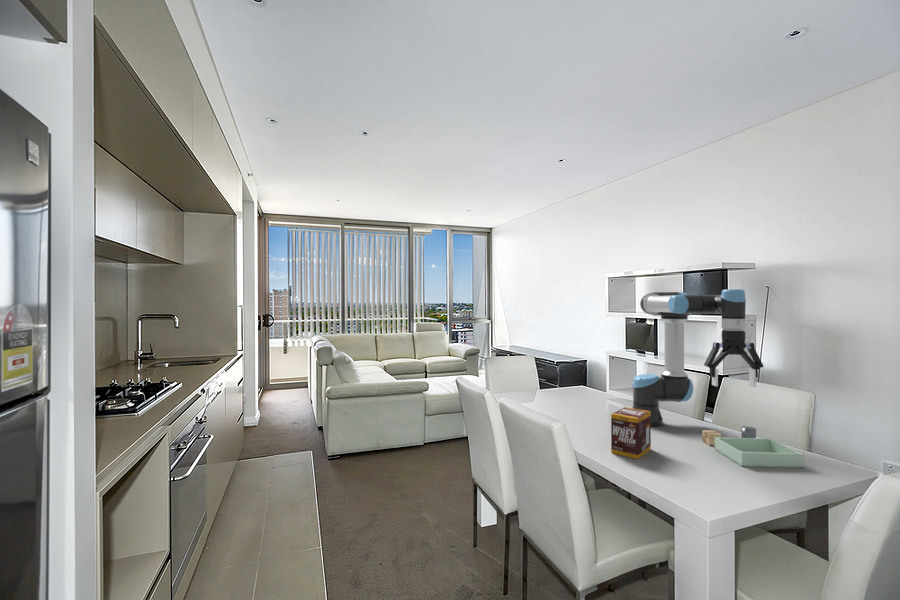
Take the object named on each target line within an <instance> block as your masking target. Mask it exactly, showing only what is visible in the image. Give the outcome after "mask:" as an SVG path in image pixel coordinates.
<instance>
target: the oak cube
mask: <svg viewBox="0 0 900 600" xmlns="http://www.w3.org/2000/svg"><path fill="white" fill-rule="evenodd" d="M701 435H702V439H701V440H702V443H703V442H704V443H703V444H705V443H706V444H705V445H706V446H708V445H713V446H712V447H715V437H720V438H722V434H721V433H720V432H718V431H716V430H704V429H703V430H702V434H701Z"/></svg>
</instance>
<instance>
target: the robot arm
mask: <svg viewBox="0 0 900 600" xmlns="http://www.w3.org/2000/svg"><path fill="white" fill-rule="evenodd" d="M746 300H747V299H746V291H745V290H744V289H740V288H738V289H733V288H732V289H731V288H730V289H727V288H726V289H722V291H721V293H720V294H688V293H687V292H681V291H680V292H679V291H675V292H674V291H667V292H666V291H665V292H664V291H663V292H662V291H659V292H658V291H656V292H649V293H647V294H645V295H644V296H642V297H641V299H640V303H639V305H640V309H641V310H642V311H643V312H644V313H645V314H647V315H651V316H660V319H661V320H662V322H663V323H664V370H663V371H662V372H661V376H660V377H659V375H658V374H654V373H644V374H638V375H635V376H634V378H633V381H632V382H633V383H632V407H631V408H634V409H639V410H645V411H650V412H651V427H659V426H662V425H664V419H663V415H662V413H661V411H660V406H659V405H660V404H659V403H660V402H671V403H672V402H676V403H681V402H688V401H689V400H690V399H691V398H692V396H693V392H694V385H693V381H692V379H691V378H689V376H688V373H687V372H685V323H686V321H688V317H689V316H691V315H692V314H714V315H717V314H719V315H721V329H722V330H721V343H720V342H717V341H716V342H715V341H713V342H712V349H711V350H710V352H709V354H708V356H707V358H706V360H705V362H704V364H703V365H704V367H707V368H709V377H711V385H712V386H714V387H719V369H718V368H717V367H718V366H719V365H720V364H721V362H723V360H724V359H726V357H727V356H729V355H731V356H732V355H737V356H738V355H740V356H741V358H742V359H743V360H744V361H745V362H746V363H747V364H748V366H750V368H749V367H748V385H749V387H753V388H756V383H757V382H756V380H757V379H756V378H758V377H759V376H758V375H759V374H758V372H759V371H758V370H760V368H761V369H763V368H764V364H763V362H762V360H761V358H760V356H759V354H758V352H757V350H756V347H755V343H754V342H747V343H746V330H745V329H746V308H747V307H746V305H747V304H746ZM721 348H722V349H721ZM745 348H746V349H747V351H748V352H749V355H748V353H747V351H746V350H745ZM720 349H721V350H720ZM719 350H720V352H719ZM718 352H719V354H718Z"/></svg>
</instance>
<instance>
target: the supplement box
mask: <svg viewBox="0 0 900 600" xmlns="http://www.w3.org/2000/svg"><path fill="white" fill-rule="evenodd" d="M610 416H611V417H610V423H611V424H610V425H611V427H610V428H611V429H610V432H611V434H610V435H611V438H610V439H611V441H610V442H611V443H610V444H611V448H610V449H611V453H612V454H614V455H615V454H616V455H619V456H623V457H626V458H631V459H636V460H639V459H640V458H641V457H643V456H644V455H646V454H647V453H648V452H649V451H651V449H652V446H651V445H652V444H651V443H652V442H651V440H652V439H651V438H652V437H651V436H652V435H651V429H652V426H651V412H650V411H645V410H639V409H634V408H632V407H622V408H621V409H619V410H617V411H615V412H613V413H611V415H610Z"/></svg>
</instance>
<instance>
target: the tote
mask: <svg viewBox="0 0 900 600" xmlns="http://www.w3.org/2000/svg"><path fill="white" fill-rule="evenodd" d="M714 451H716V452H718V453H720V454H721V455H723V456H724V457H726V458H728V459H729V460H730V461H732V462H734V464H735V463H736V464H737V465H738V466H739V467H743V468H745V467H746V468H751V467H752V468H781V469H783V468H784V469H785V468H787V469H804V467H805V466H804V465H805V463H804V462H805V461H804V460H805V459H804V458H805V457H804V456H805V454H804V453H802V452H800V451H797V450H795V449H793V448H791V447H790V446H787V445H785V444H783V443H781V442H778V441H776V440H774V439H772V438H768V437H767V438H764V437H762V438H761V437H759V438H758V437H756V438H742V437H721V438H720V437H715V446H714Z"/></svg>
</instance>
